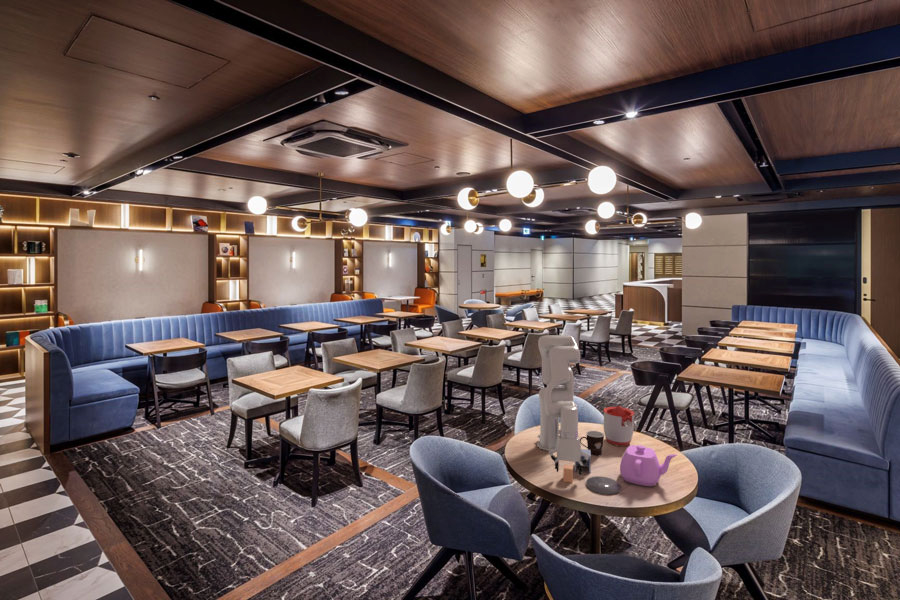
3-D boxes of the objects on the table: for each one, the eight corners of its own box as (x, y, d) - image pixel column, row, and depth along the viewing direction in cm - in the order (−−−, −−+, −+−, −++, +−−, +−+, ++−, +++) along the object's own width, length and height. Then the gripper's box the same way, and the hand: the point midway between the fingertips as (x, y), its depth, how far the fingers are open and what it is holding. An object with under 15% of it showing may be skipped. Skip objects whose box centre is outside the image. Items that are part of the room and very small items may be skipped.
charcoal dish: (579, 482, 197) (579, 480, 197) (604, 476, 202) (604, 474, 202) (602, 497, 184) (602, 495, 184) (627, 490, 190) (628, 488, 190)
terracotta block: (563, 477, 202) (563, 464, 201) (572, 478, 201) (573, 465, 200) (563, 481, 198) (563, 468, 197) (572, 482, 197) (572, 469, 196)
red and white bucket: (615, 450, 230) (616, 412, 228) (597, 437, 246) (597, 402, 245) (642, 447, 233) (643, 410, 231) (622, 435, 250) (623, 400, 248)
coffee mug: (603, 450, 229) (604, 431, 229) (603, 457, 221) (604, 438, 220) (580, 447, 233) (580, 429, 232) (579, 454, 225) (579, 435, 224)
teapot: (615, 487, 193) (616, 453, 191) (622, 467, 211) (623, 436, 210) (675, 500, 182) (676, 464, 181) (676, 478, 200) (678, 445, 199)
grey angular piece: (574, 464, 214) (575, 448, 214) (590, 466, 212) (590, 449, 212) (574, 471, 208) (574, 454, 207) (590, 472, 206) (590, 456, 205)
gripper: (548, 435, 196) (548, 473, 197) (589, 439, 191) (589, 478, 192) (549, 429, 203) (549, 466, 204) (589, 433, 198) (588, 470, 199)
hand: (568, 471), depth 198 cm, fingers open, 9 cm apart
